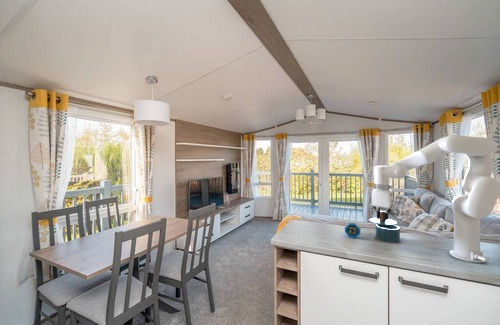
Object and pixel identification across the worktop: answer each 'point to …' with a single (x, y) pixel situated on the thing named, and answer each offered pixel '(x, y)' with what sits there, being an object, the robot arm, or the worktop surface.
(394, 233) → the tin
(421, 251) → the worktop surface
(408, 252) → the worktop surface
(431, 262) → the worktop surface
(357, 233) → the toy flower
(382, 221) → the tin lid
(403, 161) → the robot arm
